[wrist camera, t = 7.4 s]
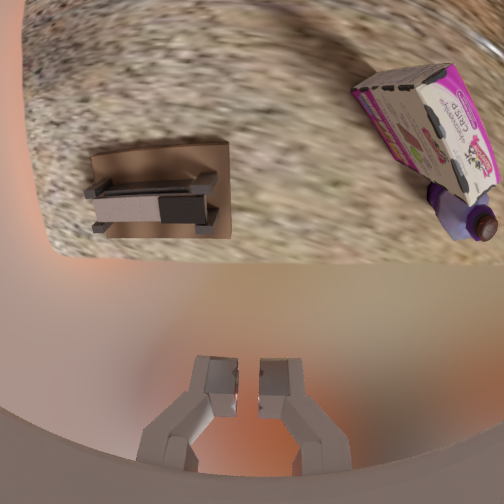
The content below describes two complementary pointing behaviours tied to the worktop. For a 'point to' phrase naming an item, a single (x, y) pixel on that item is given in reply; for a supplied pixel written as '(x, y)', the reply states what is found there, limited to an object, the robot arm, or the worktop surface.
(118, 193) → the block
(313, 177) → the worktop surface
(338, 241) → the worktop surface
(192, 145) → the walnut base plate
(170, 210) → the clamp bar
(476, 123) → the candy bar box
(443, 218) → the potion bottle
